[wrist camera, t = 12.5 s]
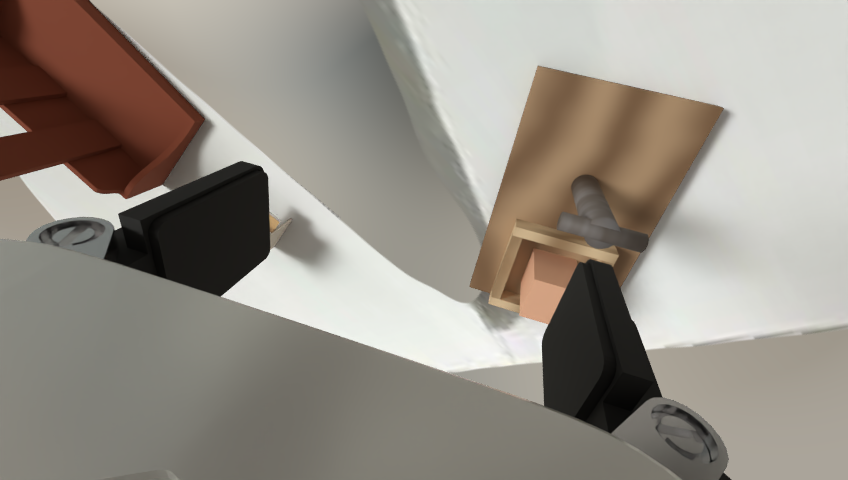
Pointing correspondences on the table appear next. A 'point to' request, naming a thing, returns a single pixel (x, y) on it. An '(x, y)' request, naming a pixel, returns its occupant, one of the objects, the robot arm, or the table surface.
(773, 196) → the table surface
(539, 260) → the salmon orange block
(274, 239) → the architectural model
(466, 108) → the table surface
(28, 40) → the red dustpan
